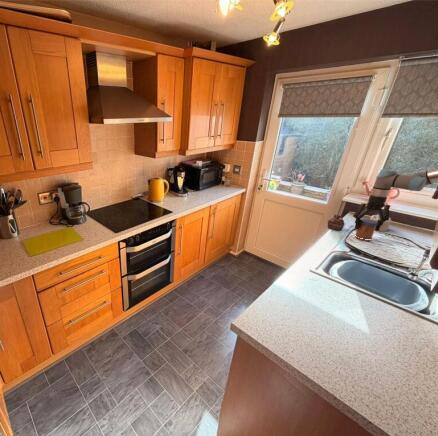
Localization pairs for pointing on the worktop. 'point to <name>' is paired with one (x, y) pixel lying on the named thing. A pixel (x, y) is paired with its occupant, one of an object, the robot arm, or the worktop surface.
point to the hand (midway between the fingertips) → (366, 229)
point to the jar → (365, 232)
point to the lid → (369, 222)
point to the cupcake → (336, 223)
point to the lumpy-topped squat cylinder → (385, 224)
